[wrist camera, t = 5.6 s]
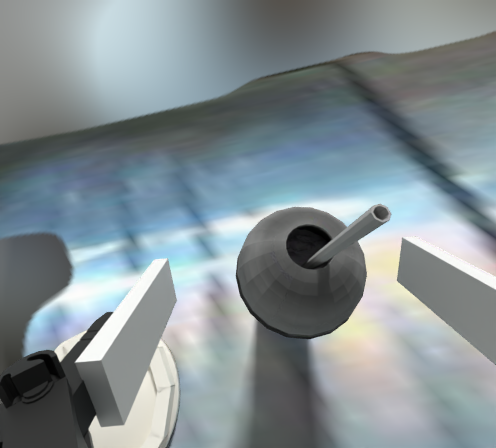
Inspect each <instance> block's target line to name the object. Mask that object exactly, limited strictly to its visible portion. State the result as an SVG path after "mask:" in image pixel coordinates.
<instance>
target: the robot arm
mask: <svg viewBox="0 0 496 448" xmlns="http://www.w3.org/2000/svg"><path fill="white" fill-rule="evenodd" d="M397 281H398V282H399V283H400V284H401V285H403V286H404V287H405V288H406V289H407V290H408V291H410V292H411V293H412V294H413V295H414V296H415V297H417V298H418V299H419V300H420V301H421V302H422V303H424V304H425V305H426V306H427V307H428V308H429V309H431V310H432V311H433V312H434V313H435V314H436V315H438V316H439V317H440V318H441V319H442V320H444V321H445V322H446V323H447V324H448V325H449V326H451V327H452V328H453V329H454V330H455V331H456V332H458V333H459V334H460V335H461V336H462V337H463V338H465V339H466V340H467V341H468V342H469V343H470V344H472V345H473V346H474V347H475V348H476V349H477V350H479V351H480V352H481V353H482V354H483V355H485V356H486V357H487V358H488V359H489V360H490V361H492V362H493V363H494V364H495V365H496V277H495V276H493V275H491V274H489V273H487V272H485V271H483V270H481V269H479V268H477V267H475V266H474V265H472V264H470V263H468V262H466V261H464V260H462V259H460V258H458V257H456V256H454V255H452V254H450V253H448V252H446V251H444V250H442V249H440V248H438V247H436V246H434V245H432V244H430V243H428V242H426V241H424V240H422V239H420V238H418V237H416V236H415V237H403V238H402V245H401V253H400V261H399V269H398V277H397ZM176 301H177V299H176V295H175V290H174V285H173V280H172V275H171V271H170V266H169V261H168V258H167V259H156V260H154V261H153V262H152V263H151V265H150V266H149V267H148V268H147V270H146V271H145V272H144V274H143V275H142V276H141V277H140V279H139V280H138V281H137V283H136V284H135V285H134V287H133V288H132V289H131V290H130V292H129V293H128V294H127V296H126V297H125V298H124V299H123V301H122V302H121V303H120V305H119V306H118V307H117V309H116V310H115V311H114V312H107V313H105V314H104V315H103V316H101V317H100V318H99V319H97V320H96V321H95V322H94V323H93V324H92V325H91V326H90V328H89V329H88V330H87V333H85V334H84V335H83V336H82V337H81V338H80V341H78V342H77V343H76V344H75V345H74V347H73V348H72V349H71V350H70V351H69V353H68V354H67V355H66V356H65V357H64V359H63V360H62V361H61V362H60V361H59V359H58V356H57V354H56V353H55V352H54V351H51V350H44V351H38V352H36V353H33V354H30V355H28V356H26V357H24V358H22V359H20V360H18V361H17V362H15V363H14V364H12V365H11V366H10V367H8V368H7V369H6V370H5V371H4V372H3V373H2V374H1V375H0V399H1V401H2V402H3V404H0V448H94V446H93V441H92V437H91V433H90V431H89V427H90V425H91V423H92V421H93V419H94V417H95V416H97V419H98V421H99V424H100V426H101V427H110V426H121V425H125V422H126V420H127V418H128V415H129V413H130V410H131V408H132V406H133V403H134V401H135V399H136V396H137V394H138V391H139V389H140V387H141V384H142V382H143V379H144V377H145V375H146V372H147V370H148V368H149V365H150V363H151V360H152V358H153V356H154V353H155V351H156V349H157V346H158V344H159V341H160V339H161V337H162V334H163V332H164V329H165V327H166V325H167V322H168V320H169V318H170V315H171V313H172V310H173V308H174V306H175V303H176Z"/></svg>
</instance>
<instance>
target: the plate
mask: <svg viewBox="0 0 496 448" xmlns="http://www.w3.org/2000/svg"><path fill="white" fill-rule="evenodd" d="M85 333H87V330H86V331H84V332H82V333H80V334H78V335H76V336H74V337H72V338H70V339H69V340H67V341H65V342H63V343H62V344H60V345H59V346H58V347H57V349H56V350H55V351H54V352H55V353H56V354H57V356H58V359H59V361H60V362H61V361H62V360H63V359H64V357H65V356H66V355H67V354H68V353H69V351H70V350H71V349H72V348H73V347H74V345H75V344H76V343H77V342H78V341H80V338H81V337H82V336H83V335H84V334H85ZM179 403H180V380H179V373H178V369H177V365H176V362H175V359H174V357H173V354H172V352H171V351H170V349H169V347H168V346H167V344H166V343H165V342H164V341H163V339H162V338H161V339H160V341H159V344H158V346H157V349H156V351H155V353H154V356H153V358H152V360H151V363H150V365H149V368H148V370H147V372H146V375H145V377H144V379H143V382H142V384H141V387H140V389H139V391H138V394H137V396H136V399H135V401H134V403H133V406H132V408H131V410H130V413H129V415H128V418H127V420H126V422H125V425H121V426H110V427H101V426H100V424H99V421H98V419H97V416H95V417H94V419H93V421H92V423H91V425H90V427H89V431H90V433H91V437H92V441H93V446H94V448H166V447H167V445H168V443H169V440H170V438H171V435H172V433H173V430H174V427H175V423H176V420H177V416H178V410H179Z"/></svg>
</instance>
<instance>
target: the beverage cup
mask: <svg viewBox="0 0 496 448" xmlns="http://www.w3.org/2000/svg"><path fill="white" fill-rule="evenodd" d="M390 216H391V213H390V211H389V209H388V207H386V206H384V205H381V204H378V205H375V206H372V207H371V208H370V209H369V210H368V211H366V212H365V213H364V214H363V215H362V216H360V217H359V218H358V219H357V220H356V221H354V222H353V223H352V224H351V225H350V226H348V227H346V225H345V224H344V223H343V222H341V221H340V220H338V219H337V218H335V217H334V216H332V215H330V214H329V213H327V212H324V211H320V210H317V209H314V208H306V207H292V208H288V209H284V210H279V211H276V212H274V213H273V214H271V215H269V216H267V217H266V218H264V219H262V220H261V221H260V222H259V223H258V224H257V225H256V226H255V227H254V228H253V229H252V231H251V232H250V233H249V234H248V236H247V238H246V240H245V242H244V245H243V247H242V249H241V251H240V254H239V256H238V260H237V270H236V279H237V284H238V288H239V293H240V296H241V298H242V300H243V301H244V303H245V305H246V307H247V308H248V310H249V312H250V313H251V314H252V315H253V316H254V317H255V318H256V319H257V320H258V321H259V322H260V323H262V324H263V325H264V326H265V327H266V328H267V329H270V330H272V331H274V332H277V333H279V334H281V335H283V336H286V337H290V338H302V339H312V338H315V337H319V336H323V335H326V334H330V333H332V332H333V331H334V330H336V329H337V328H338V327H340V326H341V325H342V324H344V323H345V322H346V321H347V320H348V319H349V317H350V316H351V314H352V312H353V311H354V309H355V308H356V306H357V304H358V303H359V301H360V300H361V298H362V296H363V292H364V287H365V282H366V277H367V272H366V265H365V258H364V253H363V251H362V249H361V247H360V245H359V243H358V240H360V239H361V238H363V237H364V236H366V235H367V234H369V233H370V232H372V231H373V230H375V229H376V228H378V227H380V226H381V225H383V224H384V223H386V222H387V221H389V220H390Z"/></svg>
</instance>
